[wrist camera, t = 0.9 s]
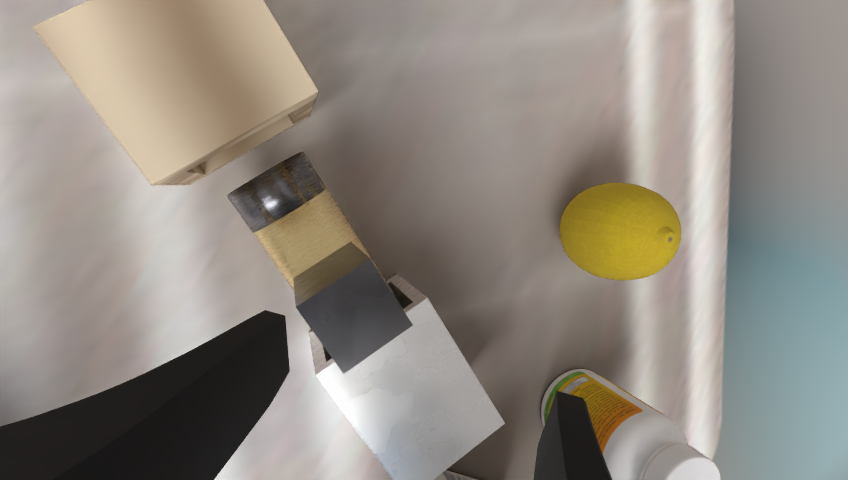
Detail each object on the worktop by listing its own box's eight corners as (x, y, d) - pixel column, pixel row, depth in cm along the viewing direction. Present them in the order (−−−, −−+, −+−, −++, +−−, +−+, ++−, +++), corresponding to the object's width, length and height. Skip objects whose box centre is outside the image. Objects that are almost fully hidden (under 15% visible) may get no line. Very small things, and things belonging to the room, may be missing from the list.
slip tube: (399, 433, 27) (453, 549, 18) (232, 195, 23) (200, 201, 14) (454, 392, 28) (530, 485, 19) (301, 154, 23) (310, 137, 15)
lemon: (540, 179, 29) (631, 178, 21) (613, 186, 30) (721, 187, 23) (531, 265, 29) (617, 294, 22) (603, 267, 31) (706, 295, 23)
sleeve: (382, 434, 28) (407, 500, 22) (308, 332, 26) (315, 375, 20) (461, 375, 29) (505, 423, 23) (397, 273, 27) (427, 297, 21)
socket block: (189, 184, 23) (151, 185, 16) (110, 75, 21) (31, 26, 15) (309, 116, 24) (318, 91, 18) (242, 8, 23) (224, -64, 16)
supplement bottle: (530, 439, 31) (635, 548, 22) (548, 363, 31) (661, 441, 21) (595, 442, 33) (718, 544, 23) (612, 370, 32) (743, 445, 23)
